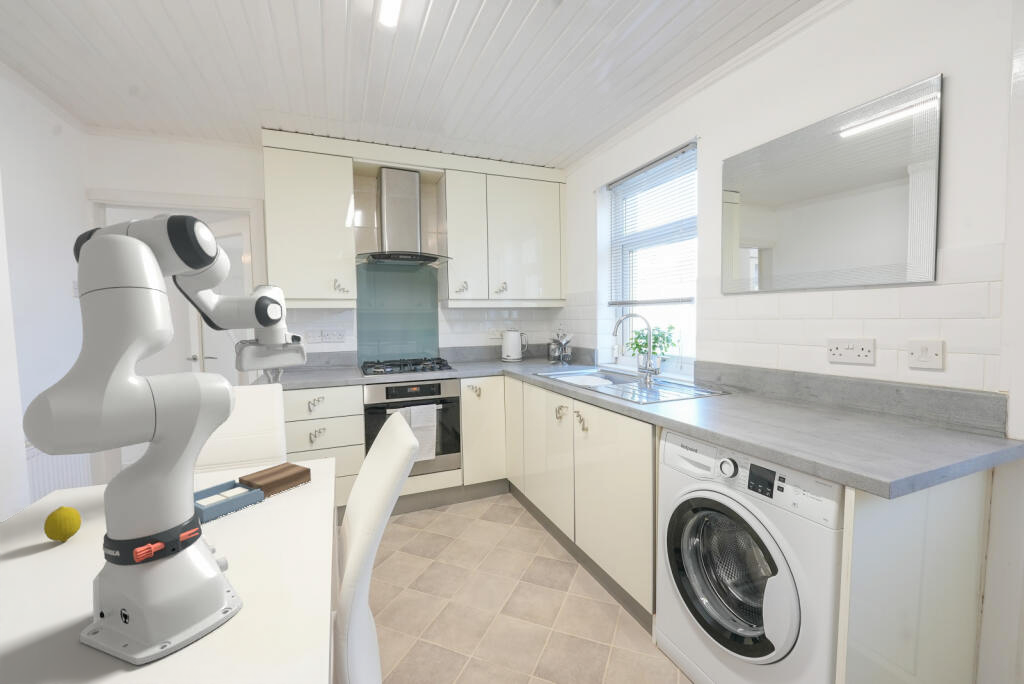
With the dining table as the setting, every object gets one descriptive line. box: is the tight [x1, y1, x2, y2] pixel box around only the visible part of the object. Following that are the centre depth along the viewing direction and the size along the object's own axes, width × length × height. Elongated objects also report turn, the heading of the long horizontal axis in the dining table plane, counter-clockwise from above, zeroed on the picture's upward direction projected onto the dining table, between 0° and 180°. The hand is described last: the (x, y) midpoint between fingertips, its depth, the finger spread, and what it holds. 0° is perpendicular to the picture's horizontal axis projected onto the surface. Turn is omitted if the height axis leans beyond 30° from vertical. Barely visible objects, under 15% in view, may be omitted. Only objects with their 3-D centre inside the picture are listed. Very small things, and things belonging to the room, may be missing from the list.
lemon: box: [43, 505, 82, 543], centre depth 90 cm, size 6×6×8 cm
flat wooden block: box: [238, 461, 312, 498], centre depth 118 cm, size 12×14×4 cm
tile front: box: [195, 494, 227, 507], centre depth 105 cm, size 5×5×2 cm
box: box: [193, 479, 265, 524], centre depth 107 cm, size 14×14×4 cm
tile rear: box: [220, 487, 250, 500], centre depth 109 cm, size 5×5×2 cm
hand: (274, 382), depth 127 cm, fingers closed
